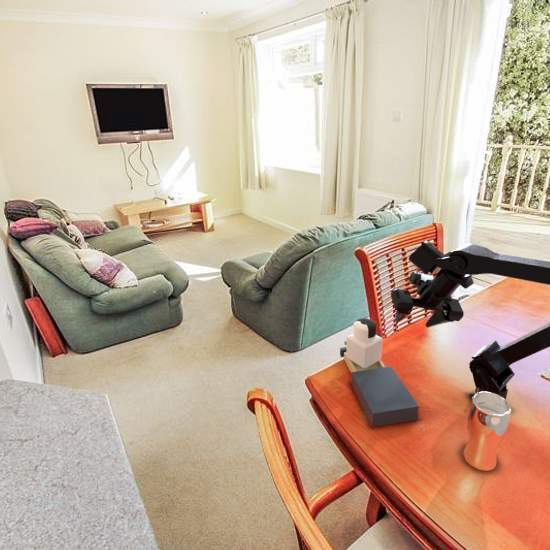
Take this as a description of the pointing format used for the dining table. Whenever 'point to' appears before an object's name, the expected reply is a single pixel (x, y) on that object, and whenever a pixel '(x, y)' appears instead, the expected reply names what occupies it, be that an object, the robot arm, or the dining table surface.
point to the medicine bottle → (364, 343)
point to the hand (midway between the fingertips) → (411, 323)
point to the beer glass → (486, 429)
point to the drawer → (355, 367)
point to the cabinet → (384, 396)
